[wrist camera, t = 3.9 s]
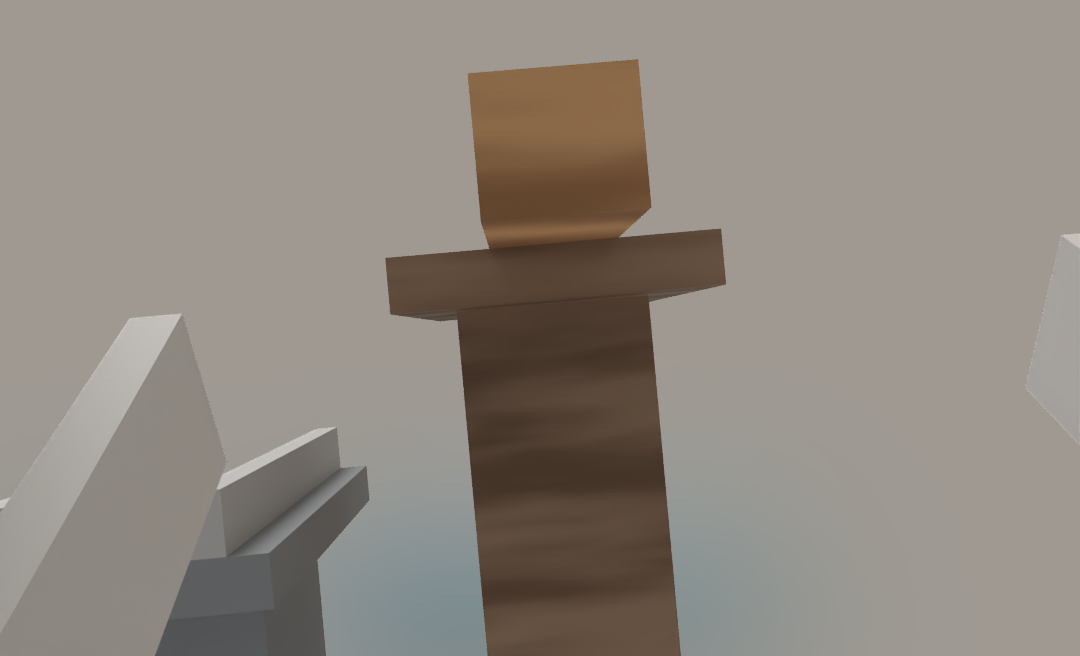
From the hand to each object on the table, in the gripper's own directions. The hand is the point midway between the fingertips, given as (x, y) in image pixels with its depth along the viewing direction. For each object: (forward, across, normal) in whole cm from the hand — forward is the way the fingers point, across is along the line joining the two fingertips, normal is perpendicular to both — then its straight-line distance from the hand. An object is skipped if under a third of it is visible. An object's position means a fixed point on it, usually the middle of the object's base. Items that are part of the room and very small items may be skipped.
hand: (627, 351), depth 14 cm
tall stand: (+12, 0, -38) cm, 39 cm away
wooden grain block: (+19, 0, -7) cm, 20 cm away
